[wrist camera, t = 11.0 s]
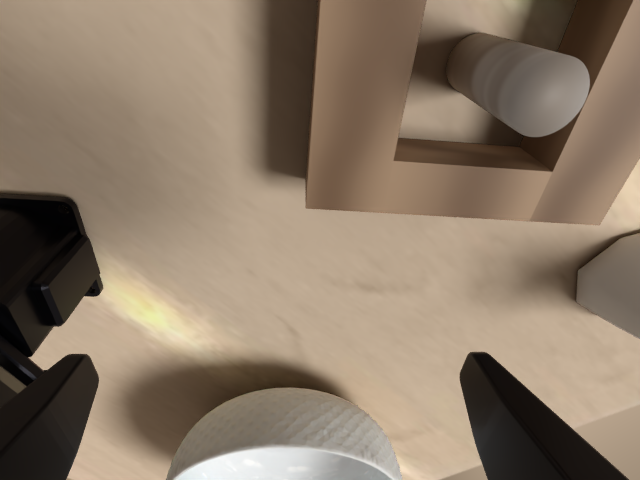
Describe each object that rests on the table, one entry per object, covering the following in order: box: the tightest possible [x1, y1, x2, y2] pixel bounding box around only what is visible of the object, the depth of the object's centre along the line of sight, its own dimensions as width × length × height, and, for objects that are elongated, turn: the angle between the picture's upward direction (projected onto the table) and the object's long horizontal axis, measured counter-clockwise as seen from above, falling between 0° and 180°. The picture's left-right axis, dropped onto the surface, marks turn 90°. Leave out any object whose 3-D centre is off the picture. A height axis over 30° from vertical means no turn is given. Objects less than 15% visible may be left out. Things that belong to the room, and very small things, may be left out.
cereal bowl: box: [166, 387, 402, 480], centre depth 29 cm, size 17×17×7 cm
